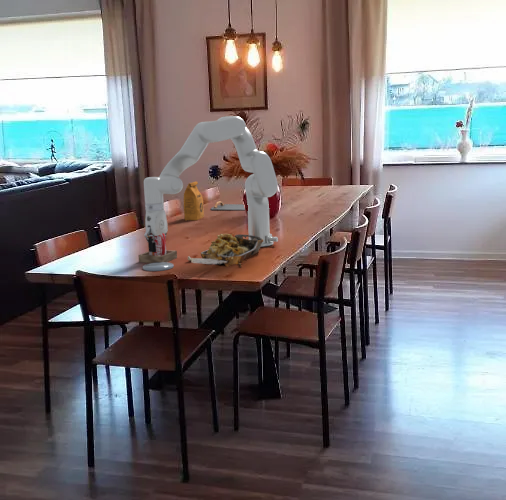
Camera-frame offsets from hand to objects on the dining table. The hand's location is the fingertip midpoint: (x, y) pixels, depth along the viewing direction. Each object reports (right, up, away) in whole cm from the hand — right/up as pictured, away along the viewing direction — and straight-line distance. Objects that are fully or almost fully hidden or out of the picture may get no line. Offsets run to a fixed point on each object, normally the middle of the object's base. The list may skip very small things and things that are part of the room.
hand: (157, 249), depth 263 cm
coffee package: (+6, +17, +103) cm, 105 cm away
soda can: (0, -5, +1) cm, 5 cm away
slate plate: (+2, -7, -13) cm, 15 cm away
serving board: (+33, +24, +134) cm, 140 cm away
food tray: (+32, -4, +4) cm, 32 cm away
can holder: (0, -4, +1) cm, 4 cm away
